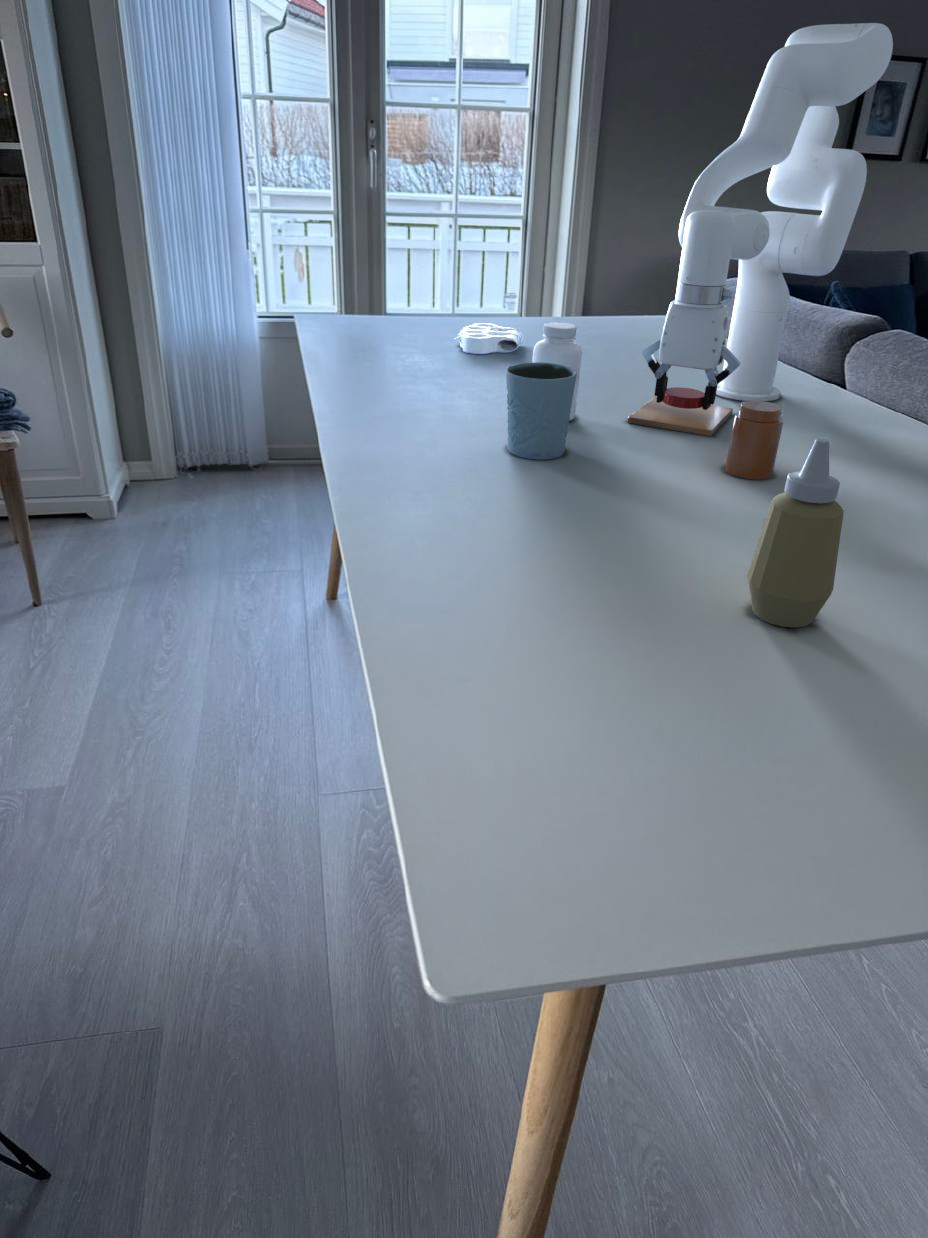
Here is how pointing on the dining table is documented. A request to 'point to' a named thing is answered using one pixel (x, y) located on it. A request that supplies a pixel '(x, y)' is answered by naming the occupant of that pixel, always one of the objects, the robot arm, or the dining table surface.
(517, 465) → the dining table surface
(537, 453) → the blue embossed cup
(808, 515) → the squeeze bottle
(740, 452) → the jam jar
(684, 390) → the jam lid
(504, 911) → the dining table surface
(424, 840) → the dining table surface
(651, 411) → the wooden board
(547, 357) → the pill bottle
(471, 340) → the white flat molded block
